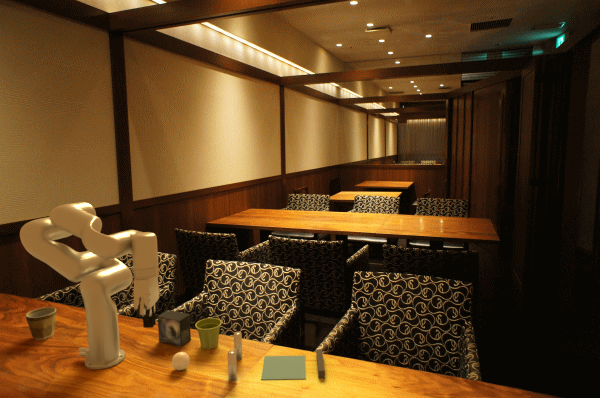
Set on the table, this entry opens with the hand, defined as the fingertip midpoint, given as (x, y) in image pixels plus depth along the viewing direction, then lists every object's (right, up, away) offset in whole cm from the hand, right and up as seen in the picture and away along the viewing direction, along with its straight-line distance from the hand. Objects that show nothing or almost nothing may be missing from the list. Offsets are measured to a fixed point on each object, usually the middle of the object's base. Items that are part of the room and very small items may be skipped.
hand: (149, 325), depth 129 cm
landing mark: (+44, -14, +2) cm, 46 cm away
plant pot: (+16, -13, +17) cm, 27 cm away
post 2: (+28, -14, +8) cm, 32 cm away
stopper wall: (+56, -14, +2) cm, 58 cm away
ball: (+10, -12, +2) cm, 16 cm away
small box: (+1, -13, +21) cm, 25 cm away
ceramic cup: (-53, -13, +27) cm, 60 cm away
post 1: (+28, -15, -4) cm, 32 cm away
